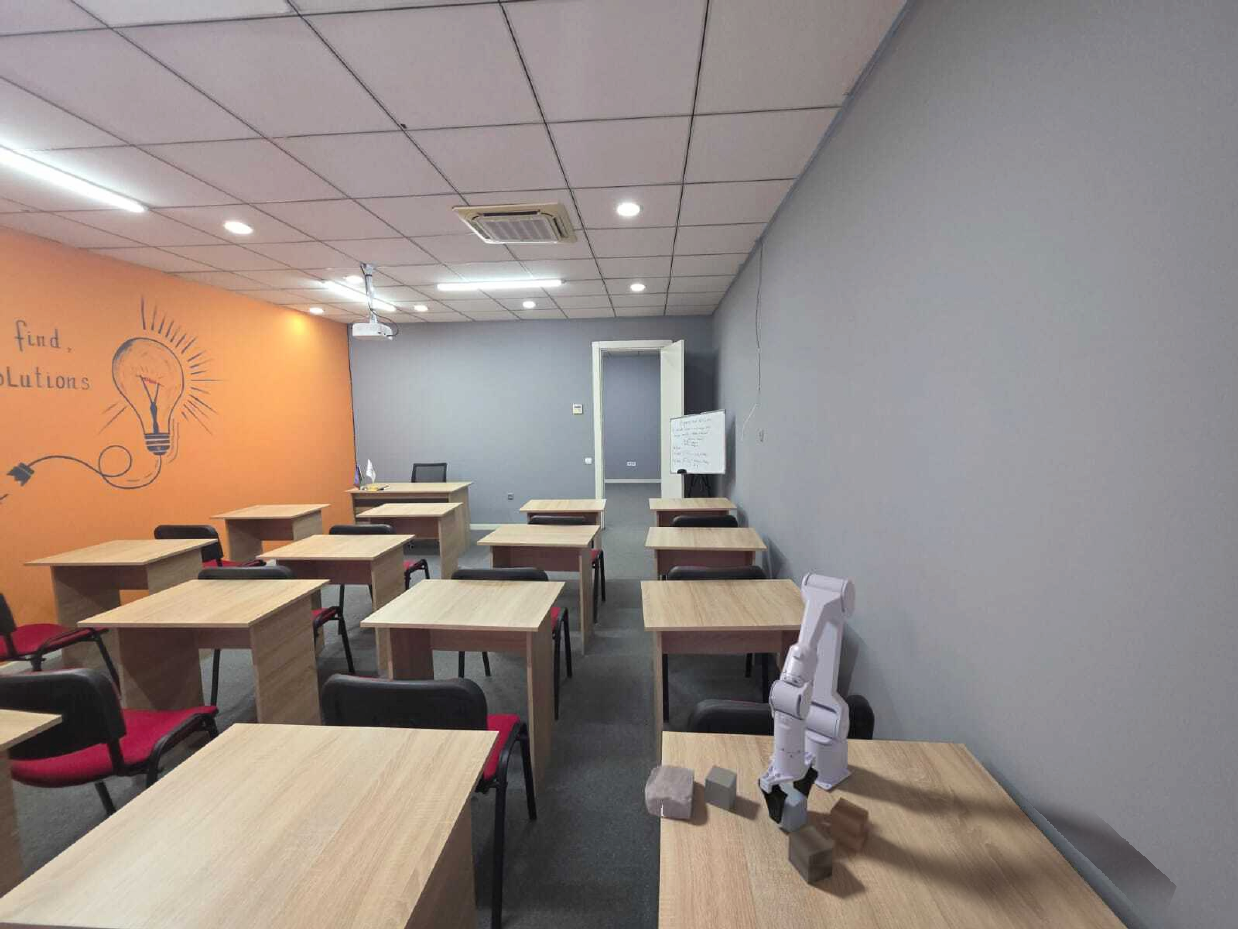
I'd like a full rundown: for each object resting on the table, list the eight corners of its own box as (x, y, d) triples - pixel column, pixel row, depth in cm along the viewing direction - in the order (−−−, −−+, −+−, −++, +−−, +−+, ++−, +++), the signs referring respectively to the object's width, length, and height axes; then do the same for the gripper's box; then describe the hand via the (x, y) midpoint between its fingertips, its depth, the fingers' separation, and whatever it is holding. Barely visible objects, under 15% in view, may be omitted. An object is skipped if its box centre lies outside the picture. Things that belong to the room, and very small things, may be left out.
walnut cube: (840, 822, 94) (841, 797, 94) (867, 837, 91) (868, 811, 90) (829, 836, 91) (830, 810, 90) (857, 852, 87) (858, 826, 87)
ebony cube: (811, 852, 87) (812, 825, 87) (832, 876, 82) (832, 848, 82) (788, 860, 85) (788, 833, 85) (807, 884, 81) (808, 856, 80)
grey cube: (713, 787, 103) (713, 764, 103) (736, 796, 101) (736, 773, 100) (704, 802, 99) (705, 778, 99) (728, 812, 96) (729, 788, 96)
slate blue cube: (784, 806, 98) (785, 782, 98) (806, 822, 94) (807, 797, 94) (768, 816, 95) (769, 792, 95) (790, 833, 91) (791, 808, 91)
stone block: (644, 825, 95) (695, 822, 94) (640, 800, 96) (690, 797, 94) (652, 785, 107) (697, 782, 105) (648, 763, 107) (693, 760, 105)
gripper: (794, 722, 101) (793, 785, 102) (747, 746, 93) (746, 814, 94) (825, 739, 96) (823, 806, 96) (778, 766, 87) (776, 839, 88)
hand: (787, 811), depth 95 cm, fingers open, 7 cm apart
